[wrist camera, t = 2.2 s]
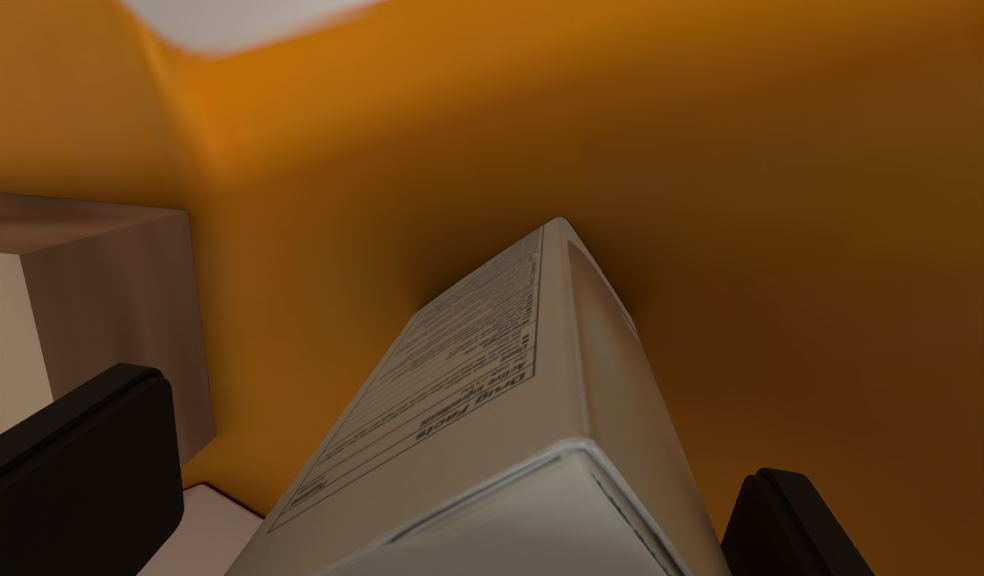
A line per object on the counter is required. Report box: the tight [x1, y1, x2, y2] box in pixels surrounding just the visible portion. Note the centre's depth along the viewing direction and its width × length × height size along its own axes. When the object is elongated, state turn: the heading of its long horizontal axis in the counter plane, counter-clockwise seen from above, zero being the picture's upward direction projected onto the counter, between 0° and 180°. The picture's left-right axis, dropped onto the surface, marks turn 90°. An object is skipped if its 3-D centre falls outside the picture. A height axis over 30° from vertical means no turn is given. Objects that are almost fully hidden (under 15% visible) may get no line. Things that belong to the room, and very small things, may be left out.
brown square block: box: [0, 192, 215, 469], centre depth 17 cm, size 9×9×6 cm
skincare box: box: [224, 217, 732, 576], centre depth 12 cm, size 6×4×12 cm
